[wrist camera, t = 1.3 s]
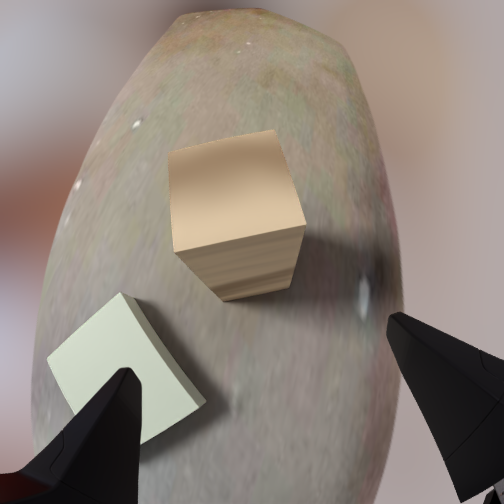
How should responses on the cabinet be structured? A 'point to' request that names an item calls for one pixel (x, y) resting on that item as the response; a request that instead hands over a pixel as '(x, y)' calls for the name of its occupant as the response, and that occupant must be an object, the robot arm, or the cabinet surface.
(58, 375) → the base plate
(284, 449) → the cabinet surface
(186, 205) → the pine block
